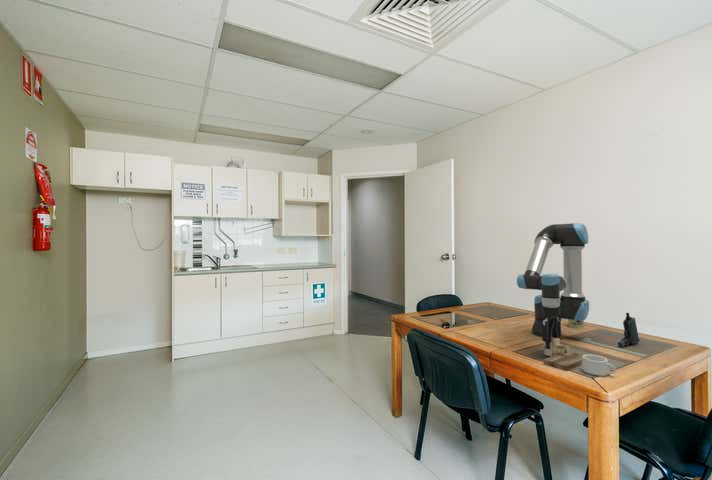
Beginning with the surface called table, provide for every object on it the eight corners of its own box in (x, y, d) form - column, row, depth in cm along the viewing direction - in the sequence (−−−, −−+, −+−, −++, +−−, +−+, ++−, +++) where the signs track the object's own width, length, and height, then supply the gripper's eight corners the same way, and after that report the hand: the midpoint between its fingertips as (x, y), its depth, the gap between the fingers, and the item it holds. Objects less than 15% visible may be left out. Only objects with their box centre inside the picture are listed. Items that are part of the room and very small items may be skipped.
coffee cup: (571, 328, 204) (570, 309, 204) (564, 324, 213) (563, 306, 213) (588, 328, 202) (587, 309, 202) (580, 324, 212) (579, 306, 212)
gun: (612, 320, 168) (628, 309, 174) (618, 351, 169) (634, 339, 175) (618, 321, 165) (634, 310, 171) (624, 352, 167) (640, 340, 173)
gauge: (544, 354, 160) (543, 338, 160) (549, 352, 162) (549, 336, 162) (566, 360, 151) (565, 343, 151) (571, 358, 154) (571, 341, 154)
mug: (577, 371, 141) (577, 357, 141) (586, 365, 146) (586, 352, 146) (611, 380, 131) (611, 365, 131) (619, 374, 137) (619, 359, 137)
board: (543, 363, 150) (543, 359, 150) (566, 354, 160) (566, 350, 160) (567, 370, 141) (567, 366, 141) (589, 360, 152) (589, 356, 152)
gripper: (548, 310, 151) (550, 360, 151) (568, 305, 160) (570, 352, 160) (532, 307, 157) (534, 355, 157) (553, 302, 167) (554, 348, 167)
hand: (552, 354), depth 159 cm, fingers closed on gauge, 5 cm apart
